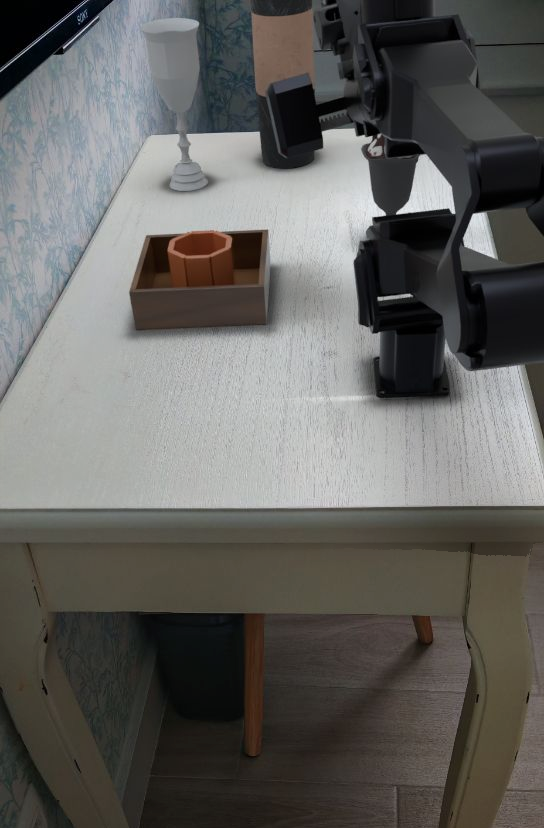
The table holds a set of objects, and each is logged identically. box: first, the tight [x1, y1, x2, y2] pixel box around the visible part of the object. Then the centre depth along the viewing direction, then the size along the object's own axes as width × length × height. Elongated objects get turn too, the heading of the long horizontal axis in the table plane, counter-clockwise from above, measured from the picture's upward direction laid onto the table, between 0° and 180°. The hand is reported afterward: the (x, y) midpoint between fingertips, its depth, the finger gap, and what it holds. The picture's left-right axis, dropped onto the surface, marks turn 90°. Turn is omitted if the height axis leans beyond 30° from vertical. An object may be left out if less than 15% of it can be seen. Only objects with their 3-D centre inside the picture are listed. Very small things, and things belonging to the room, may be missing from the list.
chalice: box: [139, 17, 209, 192], centre depth 114 cm, size 7×7×18 cm
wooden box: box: [128, 229, 272, 331], centre depth 95 cm, size 13×13×4 cm
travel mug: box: [250, 0, 316, 169], centre depth 117 cm, size 8×8×20 cm
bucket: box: [168, 229, 236, 288], centre depth 94 cm, size 6×6×6 cm
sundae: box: [360, 134, 421, 216], centre depth 98 cm, size 7×7×15 cm
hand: (355, 96), depth 90 cm, fingers open, 9 cm apart
